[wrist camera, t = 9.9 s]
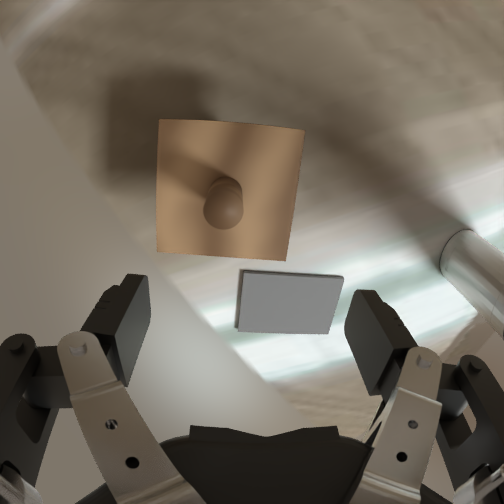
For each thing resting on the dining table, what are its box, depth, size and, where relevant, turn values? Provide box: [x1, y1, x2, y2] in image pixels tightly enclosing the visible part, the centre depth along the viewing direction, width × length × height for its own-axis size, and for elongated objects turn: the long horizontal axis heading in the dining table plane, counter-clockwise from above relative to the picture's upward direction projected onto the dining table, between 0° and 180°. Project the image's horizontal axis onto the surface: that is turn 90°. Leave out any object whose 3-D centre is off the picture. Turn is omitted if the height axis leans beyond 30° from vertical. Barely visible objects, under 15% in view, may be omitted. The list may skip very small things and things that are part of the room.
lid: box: [156, 119, 305, 261], centre depth 24 cm, size 12×12×6 cm
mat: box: [238, 271, 344, 334], centre depth 43 cm, size 14×10×1 cm
